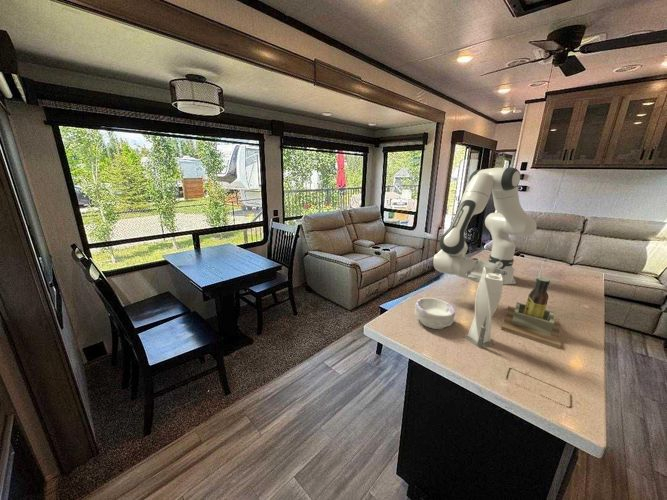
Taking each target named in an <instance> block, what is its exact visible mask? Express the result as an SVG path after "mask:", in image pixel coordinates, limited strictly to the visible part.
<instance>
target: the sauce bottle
mask: <svg viewBox="0 0 667 500" xmlns="http://www.w3.org/2000/svg"><path fill="white" fill-rule="evenodd" d="M535 281H536V282H535V286H534V287H533V289H532V290H531V291H530V292H529V294H528V296H527V300H526V303H525V305H526V306H525V310H524V314H526V315H529V316H533V317H536V318H540V319H543V316H544V312H545V310H547V305H548V300H549V294H548V292H547V291H548V287H549V285H550V283H551V279H549V278H546V277H543V276H540V277H539V276H537V278H536V280H535Z"/></svg>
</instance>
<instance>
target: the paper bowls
mask: <svg viewBox="0 0 667 500" xmlns="http://www.w3.org/2000/svg"><path fill="white" fill-rule="evenodd" d="M414 315H415V317H416V318H417V320H419V322H420V323H421V324H422V325H424V326H426V327H427V328H430V329H434V330H435V329H436V330H437V329H438V330H441V329H444V328H445V327H449V326H451V325H452V324H453V323H454V320H455V315H456V309H455V307H454V306H453V305H452V304H450V303H449V302H447V301H445V300H443V299H440V298H435V297H421V298H418V299H417V300H416V301H415V306H414Z"/></svg>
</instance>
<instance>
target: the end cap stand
mask: <svg viewBox="0 0 667 500" xmlns="http://www.w3.org/2000/svg"><path fill="white" fill-rule="evenodd" d="M525 306H526V303H521V302H518V301H517V302H516V305H515V307H513V306H511V305H510V306H509V305H508V306H507V307H506V308H507V309H506V312H505V315H504V319H503V322H502V325H501V331H503V332H505V333H506V332H507V333H511V334H513V335H516V336H519V337H522V338H526V339H528V340H531V341H534V342H537V343H541V344H544V345H546V346H549V347H552V348H556V349H559V350H560V348H561V346H562V343H561V334H560V323H559V319H556V318H555V316H554V314H555V313H554V311H552V310H547V309H545V312H544V316H543V319H540V318H536V317H533V316H529V315H526V314H524V310H525Z"/></svg>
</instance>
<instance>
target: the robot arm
mask: <svg viewBox="0 0 667 500" xmlns="http://www.w3.org/2000/svg"><path fill="white" fill-rule="evenodd" d="M520 181H521V172H520V171H519V169H517V168H516V167H510V166H508V167H493V168H492V167H491V168H485V169H482V168H481V169H477V170H475V171H473V172H472V173H471V174H470V176H469V178H468V183H467V186H466V187H465V189H464V192H463V195H462V197H461V200H460V202H459V207H458V209H457V211H456V213H455V214H454V217H453V219H452V222H451V224H450V226H449V228H448V229H447V230H446V231H445V232H444V233H443V234H442V236H440V239H439V247H440V250H439V251H438V252H437V253H435V254H434V255H433V259H432V264H433V265H432V266H433V268H434V270H436V271H437V272H440V273H442V274H445V275H451V276H453V275H454V276H457V277H460V278H464V279H467V280H470V281H472V282H474V283H476V284H477V283H478V284H479V282H480V279H481V276H482V273H483V267H485V268H486V274H488V273H494V274H496V275H498V276H499V274H501V276H502V278H503V285H516V284H517V282H516V279H515V277H514V275H515V269H514V267H513V264H514V256H515V252H516V248H517V246H516V243H514V242H513V241H512V240H511V238H510V236H509V235H511V236H514V237H530V236H532V235H533V234H534V233H535V232H536V231H537V227H538V226H537V222H536V220H535V219H534V218H532V217H531V216H530V215H528V214H527V213H526V212H525V210H524V209H523V207H522V205H521V202H520V198H519V197H520V196H519V188H518V185H519V184H520ZM491 194H492V199H493V205H494V207H493V208H494V209H495V210H496V212H491V213H489V214H488V215H487V216H486V217H485V220H484V225H485V227H486V229H487V230H488V231H489V233H490V236H491V239H492V240H491V241H492V246H491V252H490V255H489V257H488V261H486V260H483V259H482V260H481V259H479V258H478V257H473V258H467V257H466V254H467V251H468V250H469V249H468V244H467V242H466V240H465V232H466V231H467V228H468V225H469V223H470V221H471V219H472V217H473V216H475V215H478V214H481V213H482V212H483V211H484V210H485V208H486V206H487V204H488V203H489V200H490V197H491ZM484 273H485V271H484ZM501 276H500V277H501Z"/></svg>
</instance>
